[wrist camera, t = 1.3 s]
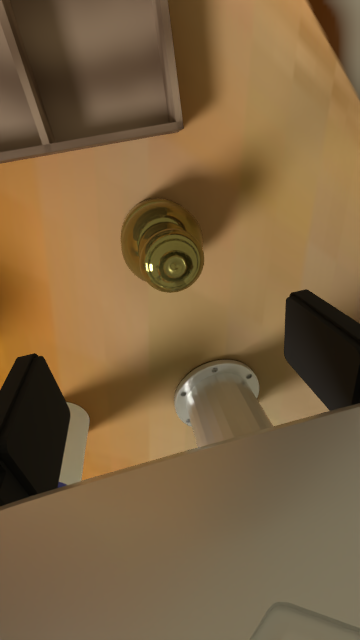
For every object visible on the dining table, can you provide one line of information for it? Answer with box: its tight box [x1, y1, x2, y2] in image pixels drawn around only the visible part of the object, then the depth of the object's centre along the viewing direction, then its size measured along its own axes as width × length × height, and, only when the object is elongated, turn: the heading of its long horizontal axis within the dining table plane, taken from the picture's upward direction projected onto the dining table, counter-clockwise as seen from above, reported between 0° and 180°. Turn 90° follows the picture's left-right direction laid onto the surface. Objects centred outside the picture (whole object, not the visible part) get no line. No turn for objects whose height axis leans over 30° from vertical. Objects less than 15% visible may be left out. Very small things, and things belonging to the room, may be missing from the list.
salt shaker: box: [121, 198, 204, 293], centre depth 25 cm, size 7×7×10 cm
